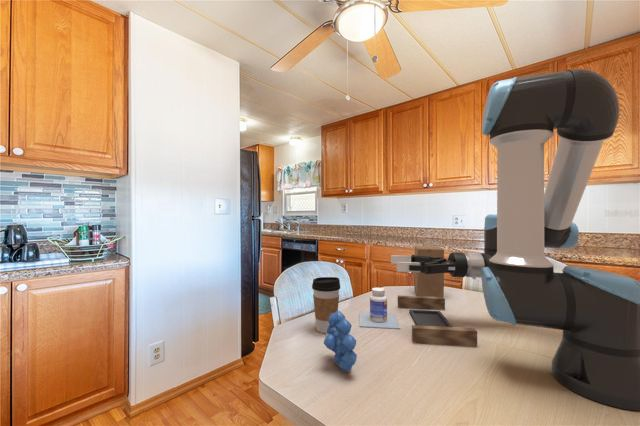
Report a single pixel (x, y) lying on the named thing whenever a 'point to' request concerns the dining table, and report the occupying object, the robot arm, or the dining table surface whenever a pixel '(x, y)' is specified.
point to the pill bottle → (378, 305)
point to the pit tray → (429, 318)
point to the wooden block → (429, 282)
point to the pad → (367, 322)
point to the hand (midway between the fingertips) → (393, 262)
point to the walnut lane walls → (436, 333)
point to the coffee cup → (325, 300)
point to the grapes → (341, 341)
